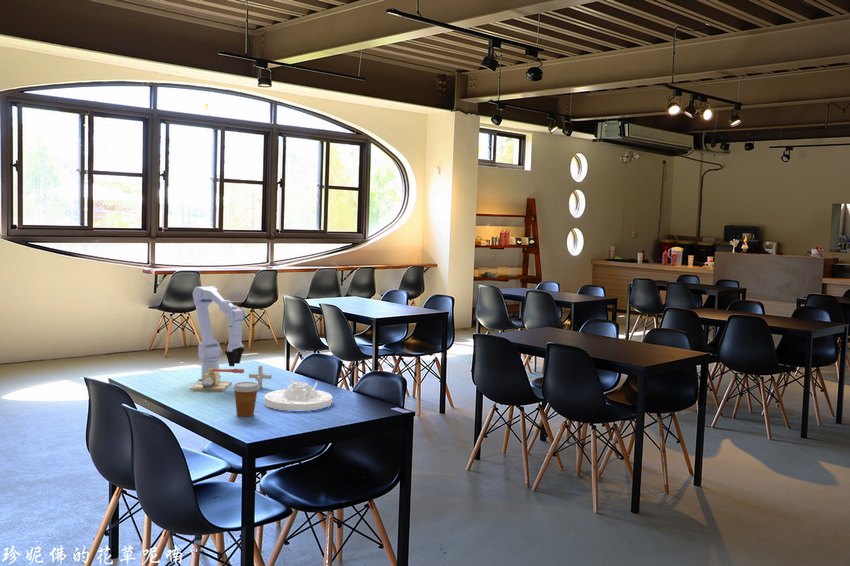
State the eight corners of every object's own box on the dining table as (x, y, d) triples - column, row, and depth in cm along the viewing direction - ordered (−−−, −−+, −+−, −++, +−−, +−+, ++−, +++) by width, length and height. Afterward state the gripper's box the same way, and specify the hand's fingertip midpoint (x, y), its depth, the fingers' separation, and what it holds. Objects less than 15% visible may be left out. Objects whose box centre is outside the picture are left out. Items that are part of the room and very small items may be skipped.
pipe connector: (268, 390, 317) (268, 368, 316) (246, 389, 317) (246, 367, 316) (273, 385, 327) (274, 364, 326) (252, 384, 327) (252, 363, 326)
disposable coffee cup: (232, 418, 267) (233, 387, 266) (232, 412, 276) (233, 381, 275) (258, 417, 270) (259, 386, 269) (257, 411, 279) (258, 381, 278)
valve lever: (208, 371, 316) (208, 368, 316) (209, 370, 318) (209, 367, 318) (242, 373, 316) (242, 370, 316) (244, 372, 318) (244, 369, 318)
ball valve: (210, 382, 325) (210, 368, 325) (222, 382, 325) (222, 368, 325) (199, 389, 309) (199, 374, 309) (212, 390, 309) (212, 375, 309)
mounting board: (200, 383, 325) (200, 380, 325) (231, 384, 326) (231, 381, 325) (189, 390, 309) (189, 387, 309) (221, 391, 310) (222, 389, 309)
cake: (277, 415, 276) (278, 391, 275) (255, 399, 300) (256, 377, 299) (343, 409, 290) (343, 386, 290) (317, 394, 314) (318, 373, 314)
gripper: (238, 337, 315) (237, 368, 315) (248, 333, 329) (248, 362, 330) (223, 337, 315) (222, 367, 316) (233, 333, 329) (233, 361, 330)
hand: (234, 364), depth 323 cm, fingers open, 7 cm apart
